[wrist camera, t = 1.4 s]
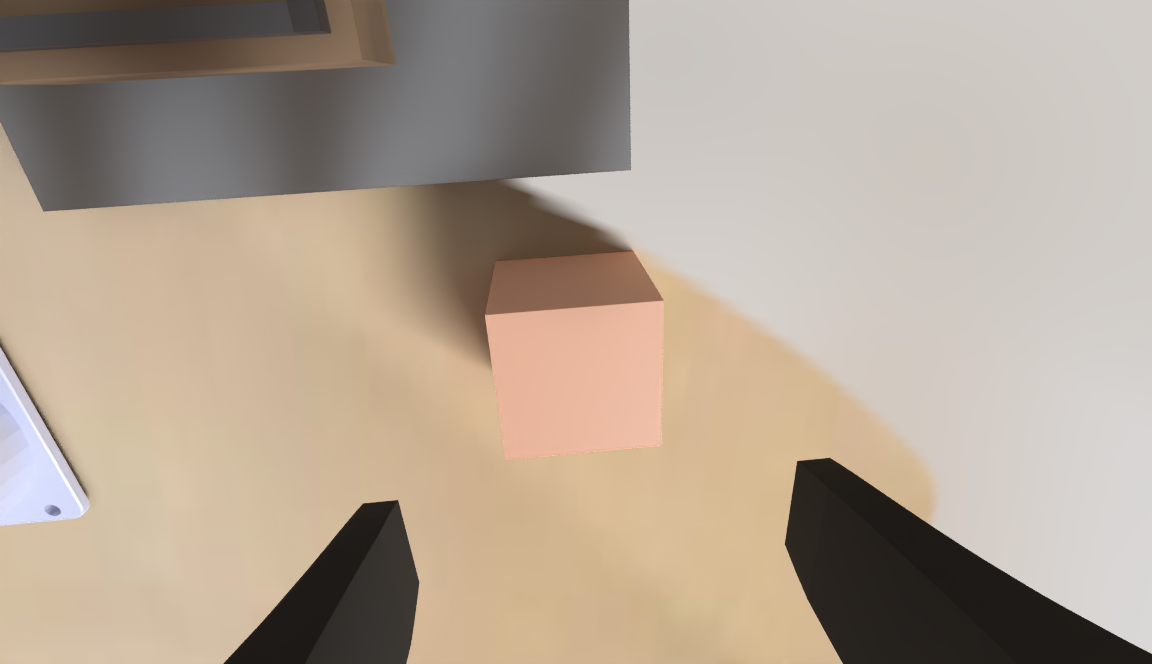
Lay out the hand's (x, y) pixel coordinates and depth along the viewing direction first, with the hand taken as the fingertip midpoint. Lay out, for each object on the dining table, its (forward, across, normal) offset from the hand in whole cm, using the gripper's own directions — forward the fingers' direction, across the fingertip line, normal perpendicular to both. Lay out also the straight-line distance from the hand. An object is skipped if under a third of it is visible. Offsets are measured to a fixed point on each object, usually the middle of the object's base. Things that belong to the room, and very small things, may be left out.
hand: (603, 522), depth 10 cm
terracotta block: (+10, 0, 0) cm, 10 cm away
